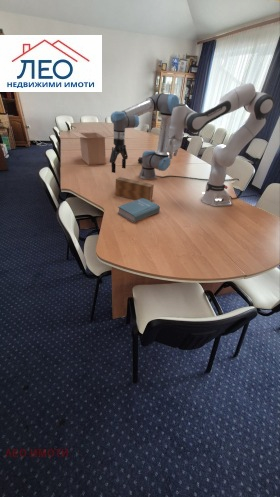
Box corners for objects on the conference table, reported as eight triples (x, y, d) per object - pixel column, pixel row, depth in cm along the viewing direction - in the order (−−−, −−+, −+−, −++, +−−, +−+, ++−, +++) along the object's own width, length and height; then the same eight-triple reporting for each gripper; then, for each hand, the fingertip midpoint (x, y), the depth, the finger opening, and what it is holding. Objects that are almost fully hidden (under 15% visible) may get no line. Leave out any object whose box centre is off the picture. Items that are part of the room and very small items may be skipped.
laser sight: (157, 166, 235) (158, 156, 229) (137, 164, 238) (137, 154, 232) (158, 164, 242) (159, 154, 236) (138, 161, 245) (139, 152, 239)
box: (116, 165, 229) (116, 136, 213) (83, 168, 214) (80, 137, 198) (102, 154, 259) (101, 128, 243) (71, 156, 244) (68, 129, 228)
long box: (115, 195, 169) (115, 179, 162) (119, 192, 173) (119, 176, 166) (149, 203, 161) (150, 186, 153) (152, 200, 165) (153, 184, 158)
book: (142, 204, 158) (143, 197, 155) (159, 212, 149) (160, 205, 146) (118, 213, 145) (118, 206, 142) (134, 223, 136) (135, 216, 133)
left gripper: (113, 141, 138) (113, 175, 151) (133, 137, 157) (131, 167, 169) (103, 140, 141) (104, 173, 153) (124, 135, 159) (123, 165, 172)
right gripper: (176, 137, 131) (172, 161, 139) (184, 133, 146) (181, 155, 154) (166, 136, 133) (163, 160, 141) (175, 131, 148) (172, 153, 156)
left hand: (118, 170), depth 161 cm, fingers open, 13 cm apart
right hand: (172, 157), depth 148 cm, fingers open, 8 cm apart
